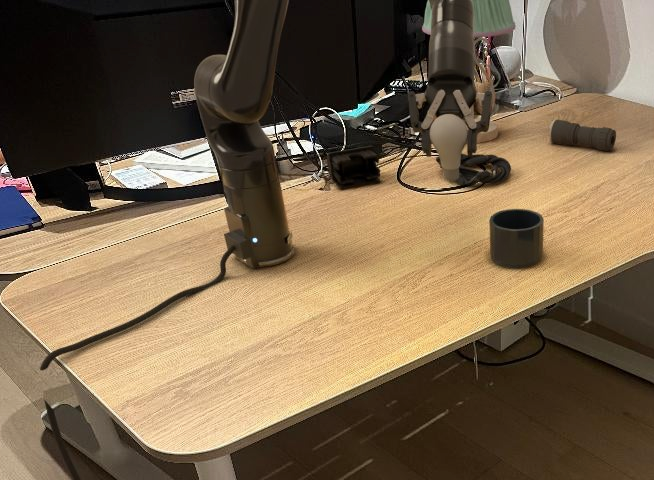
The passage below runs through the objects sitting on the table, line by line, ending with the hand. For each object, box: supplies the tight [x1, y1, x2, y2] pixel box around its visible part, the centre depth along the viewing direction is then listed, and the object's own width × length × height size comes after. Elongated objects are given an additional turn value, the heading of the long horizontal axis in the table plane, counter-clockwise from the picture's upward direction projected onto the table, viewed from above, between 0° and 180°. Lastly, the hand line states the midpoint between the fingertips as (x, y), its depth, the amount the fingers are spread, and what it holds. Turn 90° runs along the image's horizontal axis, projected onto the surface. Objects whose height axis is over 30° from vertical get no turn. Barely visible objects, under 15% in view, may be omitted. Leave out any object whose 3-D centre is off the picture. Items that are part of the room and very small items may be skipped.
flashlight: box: [548, 118, 617, 152], centre depth 177 cm, size 15×5×5 cm, turn 62°
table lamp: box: [421, 0, 517, 144], centre depth 176 cm, size 22×22×40 cm
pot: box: [488, 208, 545, 269], centre depth 130 cm, size 9×9×7 cm
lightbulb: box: [430, 114, 468, 183], centre depth 121 cm, size 6×6×11 cm
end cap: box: [326, 145, 382, 191], centre depth 161 cm, size 10×7×7 cm
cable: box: [435, 153, 512, 187], centre depth 164 cm, size 17×14×4 cm
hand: (449, 154), depth 120 cm, fingers closed on lightbulb, 6 cm apart
